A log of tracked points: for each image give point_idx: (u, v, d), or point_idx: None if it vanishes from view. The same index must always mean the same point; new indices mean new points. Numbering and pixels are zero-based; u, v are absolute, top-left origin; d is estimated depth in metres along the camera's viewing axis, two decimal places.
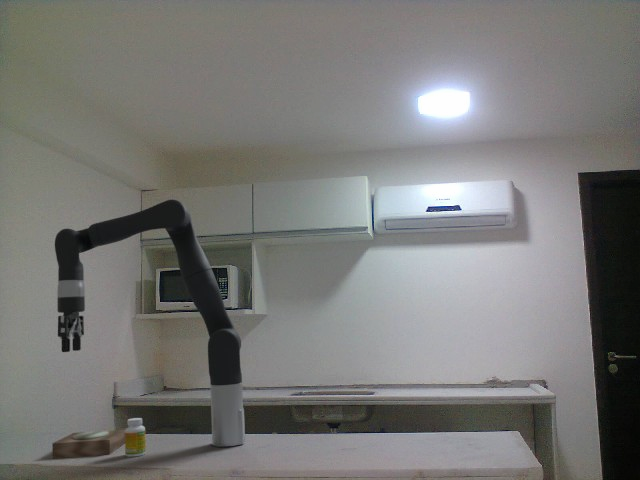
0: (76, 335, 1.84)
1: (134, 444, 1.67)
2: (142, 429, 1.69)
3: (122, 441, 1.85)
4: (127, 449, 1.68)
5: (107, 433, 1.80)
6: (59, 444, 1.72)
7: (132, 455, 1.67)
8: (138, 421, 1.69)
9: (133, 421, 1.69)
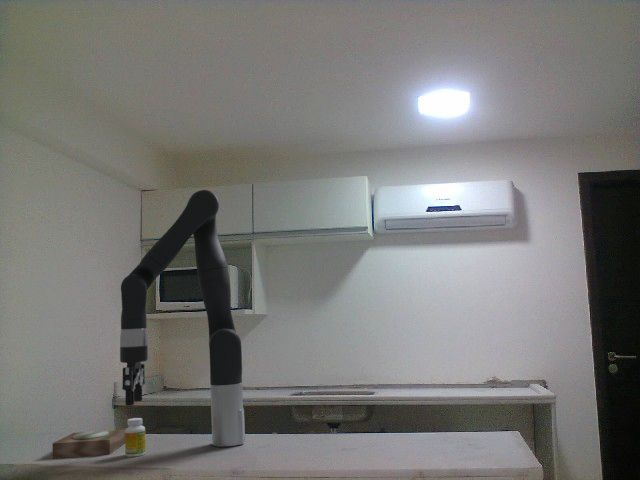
0: (138, 385, 1.76)
1: (134, 444, 1.67)
2: (142, 429, 1.69)
3: (122, 441, 1.85)
4: (127, 449, 1.68)
5: (107, 433, 1.80)
6: (59, 444, 1.72)
7: (132, 455, 1.67)
8: (138, 421, 1.69)
9: (133, 421, 1.69)
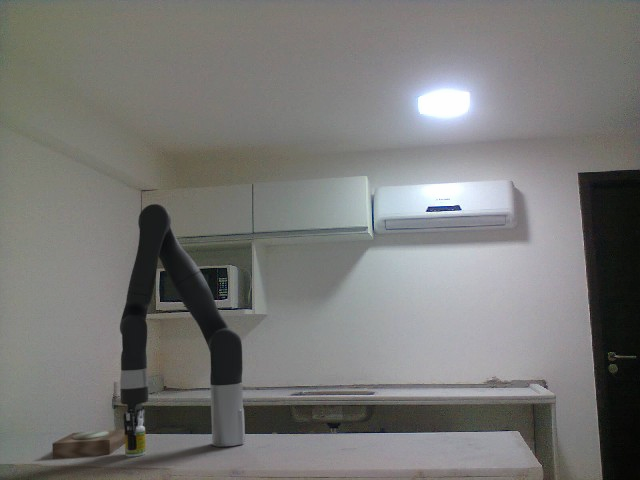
0: None
1: None
2: (142, 429, 1.69)
3: (122, 441, 1.85)
4: (127, 449, 1.68)
5: (107, 433, 1.80)
6: (59, 444, 1.72)
7: (132, 455, 1.67)
8: None
9: None
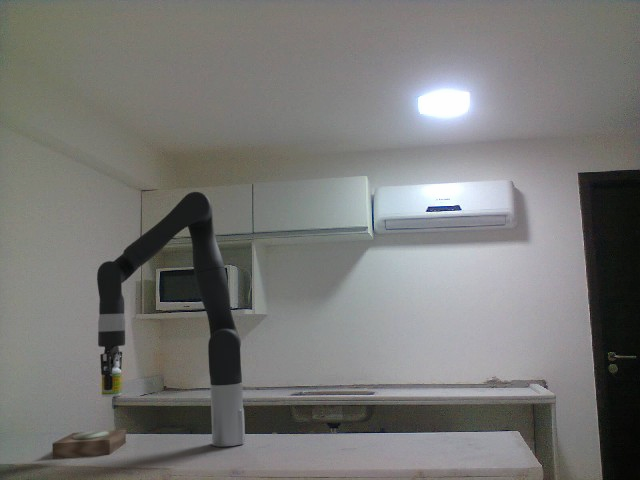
0: None
1: None
2: (118, 371, 1.76)
3: (122, 441, 1.85)
4: (103, 389, 1.74)
5: (107, 433, 1.80)
6: (59, 444, 1.72)
7: (108, 395, 1.73)
8: None
9: None
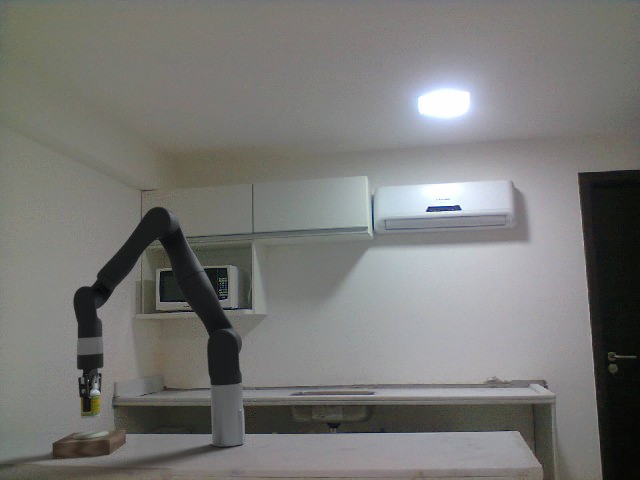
0: None
1: None
2: (97, 393, 1.81)
3: (122, 441, 1.85)
4: (82, 411, 1.79)
5: (107, 433, 1.80)
6: (59, 444, 1.72)
7: (87, 417, 1.78)
8: None
9: None
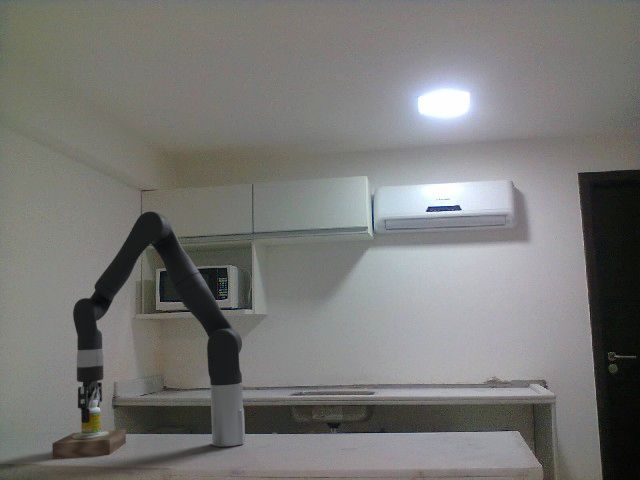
0: None
1: (89, 424, 1.78)
2: (97, 410, 1.80)
3: (122, 441, 1.85)
4: (83, 428, 1.79)
5: (107, 433, 1.80)
6: (59, 444, 1.72)
7: (87, 434, 1.78)
8: (93, 402, 1.80)
9: None
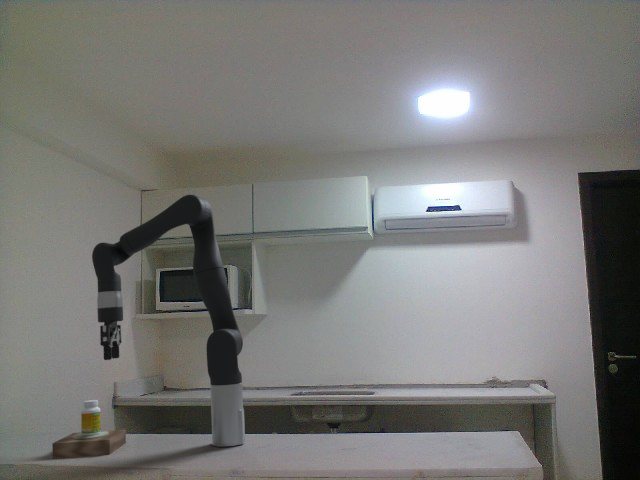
0: (115, 343, 1.93)
1: (89, 424, 1.78)
2: (97, 410, 1.80)
3: (122, 441, 1.85)
4: (83, 428, 1.79)
5: (107, 433, 1.80)
6: (59, 444, 1.72)
7: (87, 434, 1.78)
8: (94, 402, 1.80)
9: (89, 402, 1.80)
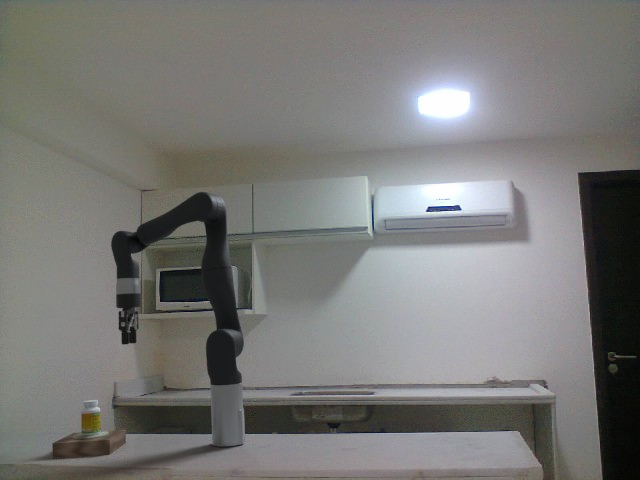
0: (132, 329, 1.99)
1: (89, 424, 1.78)
2: (97, 410, 1.80)
3: (122, 441, 1.85)
4: (83, 428, 1.79)
5: (107, 433, 1.80)
6: (59, 444, 1.72)
7: (87, 434, 1.78)
8: (93, 402, 1.80)
9: (89, 402, 1.80)
